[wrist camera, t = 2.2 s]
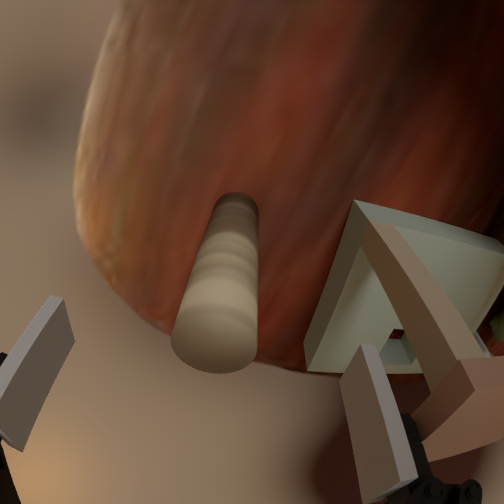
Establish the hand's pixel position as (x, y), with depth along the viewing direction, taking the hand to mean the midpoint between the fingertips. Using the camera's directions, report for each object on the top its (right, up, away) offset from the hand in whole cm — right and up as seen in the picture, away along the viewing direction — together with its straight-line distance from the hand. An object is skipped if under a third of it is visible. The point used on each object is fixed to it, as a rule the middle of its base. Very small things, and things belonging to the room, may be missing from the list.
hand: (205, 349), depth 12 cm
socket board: (+18, 0, +16) cm, 23 cm away
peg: (+1, +7, +12) cm, 14 cm away
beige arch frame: (+18, +2, +9) cm, 21 cm away
